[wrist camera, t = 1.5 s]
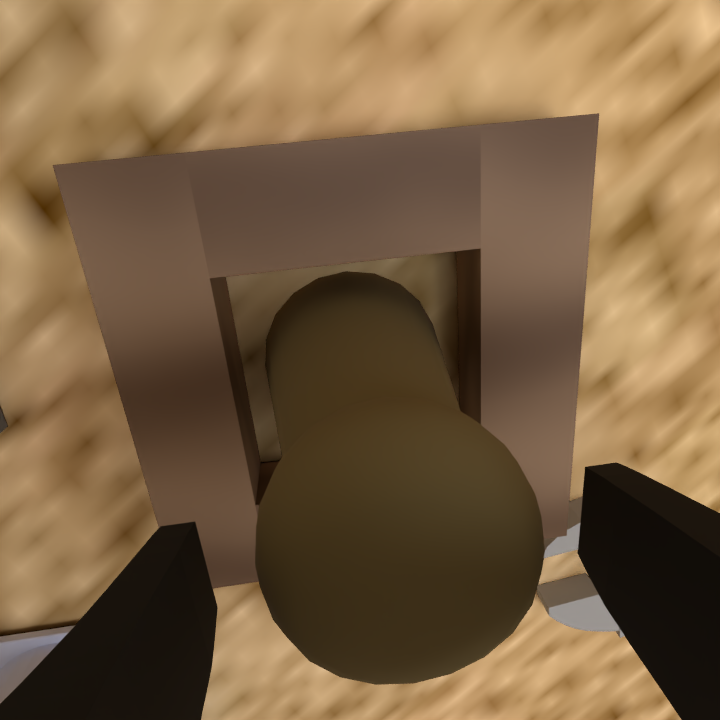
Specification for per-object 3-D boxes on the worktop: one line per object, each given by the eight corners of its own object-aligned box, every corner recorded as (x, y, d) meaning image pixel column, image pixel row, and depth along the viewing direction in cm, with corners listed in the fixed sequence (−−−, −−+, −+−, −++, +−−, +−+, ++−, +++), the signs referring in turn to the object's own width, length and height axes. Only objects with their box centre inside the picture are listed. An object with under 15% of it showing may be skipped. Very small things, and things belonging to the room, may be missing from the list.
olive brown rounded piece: (342, 461, 20) (385, 788, 10) (227, 350, 18) (126, 618, 7) (469, 362, 19) (669, 610, 9) (364, 232, 17) (462, 355, 6)
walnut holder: (537, 494, 21) (566, 535, 19) (192, 543, 20) (178, 593, 18) (556, 119, 16) (599, 113, 14) (90, 163, 15) (52, 165, 13)
